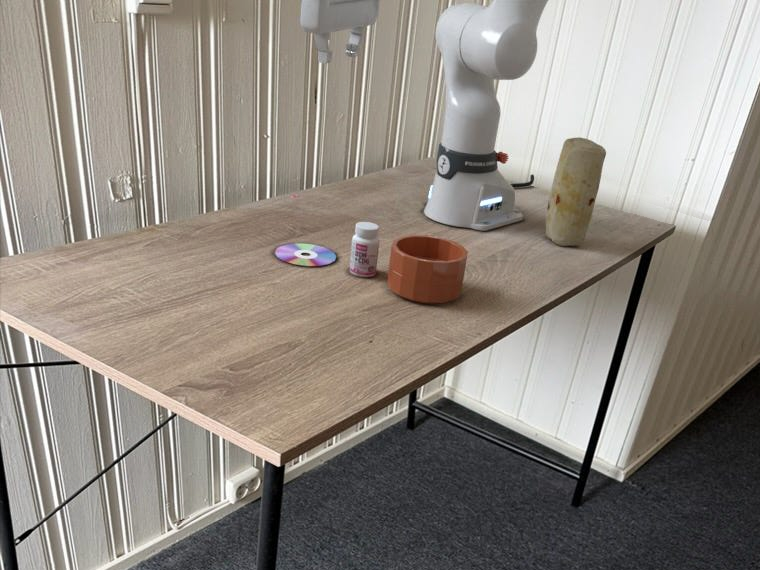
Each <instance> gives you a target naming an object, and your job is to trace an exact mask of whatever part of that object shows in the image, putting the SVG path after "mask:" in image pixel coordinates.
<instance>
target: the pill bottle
mask: <svg viewBox="0 0 760 570" xmlns="http://www.w3.org/2000/svg"><path fill="white" fill-rule="evenodd" d="M379 232H380V226H379V225H378V224H376V223H374V222H369V221H359V222H356V224H355V229H354V233H355V234H354V235H353V236H352V237H351V247H350V261H349V272H350V273H351V274H352V275H353V276H356V277H359V278H371V277H374V276H375V275H376V274H377V267H378V259H379V249H380V238H379V234H380V233H379Z"/></svg>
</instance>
